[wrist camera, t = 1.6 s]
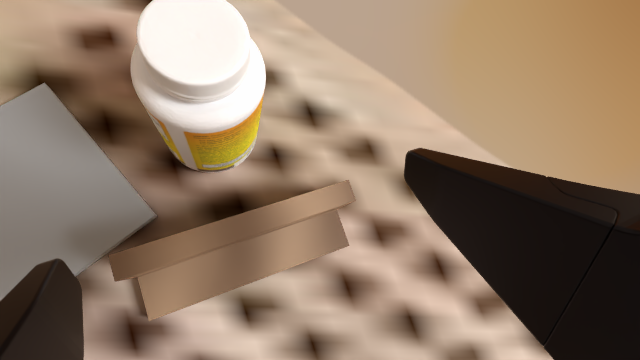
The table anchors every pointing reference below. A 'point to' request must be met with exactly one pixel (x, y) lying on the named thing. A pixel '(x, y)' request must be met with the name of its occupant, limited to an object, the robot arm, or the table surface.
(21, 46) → the table surface
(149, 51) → the supplement bottle
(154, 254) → the brown wooden block
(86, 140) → the slate grey mat
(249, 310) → the table surface
